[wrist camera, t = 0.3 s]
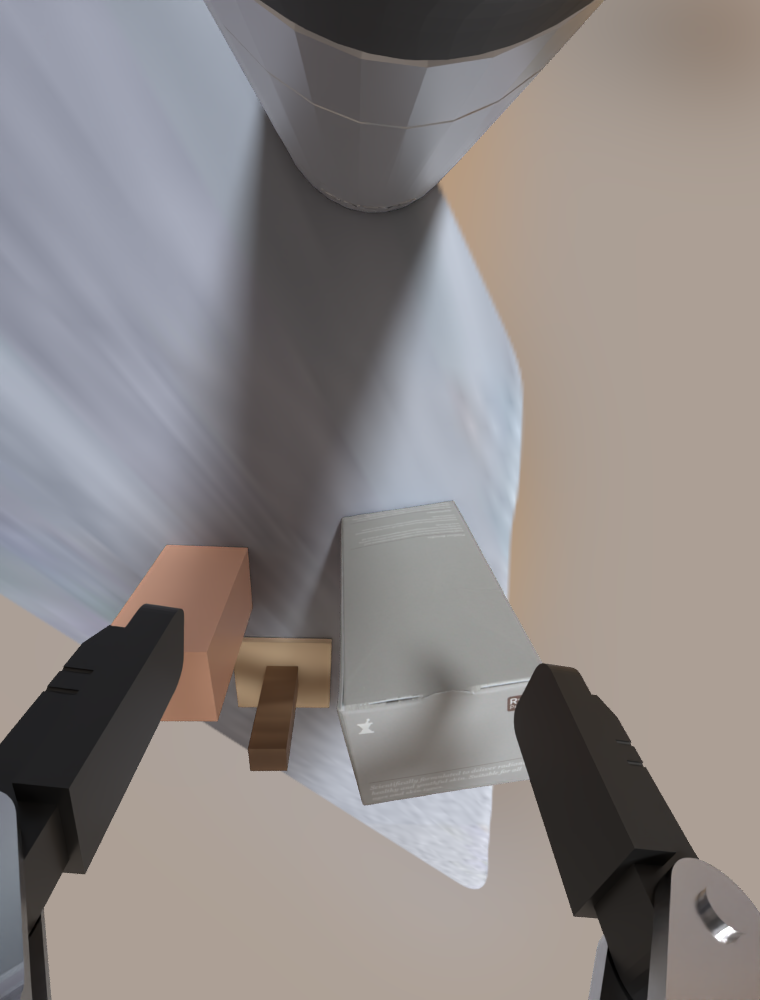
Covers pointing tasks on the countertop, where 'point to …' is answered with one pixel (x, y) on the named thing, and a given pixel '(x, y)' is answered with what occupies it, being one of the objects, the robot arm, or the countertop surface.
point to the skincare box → (426, 657)
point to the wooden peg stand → (280, 691)
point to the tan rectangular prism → (200, 620)
